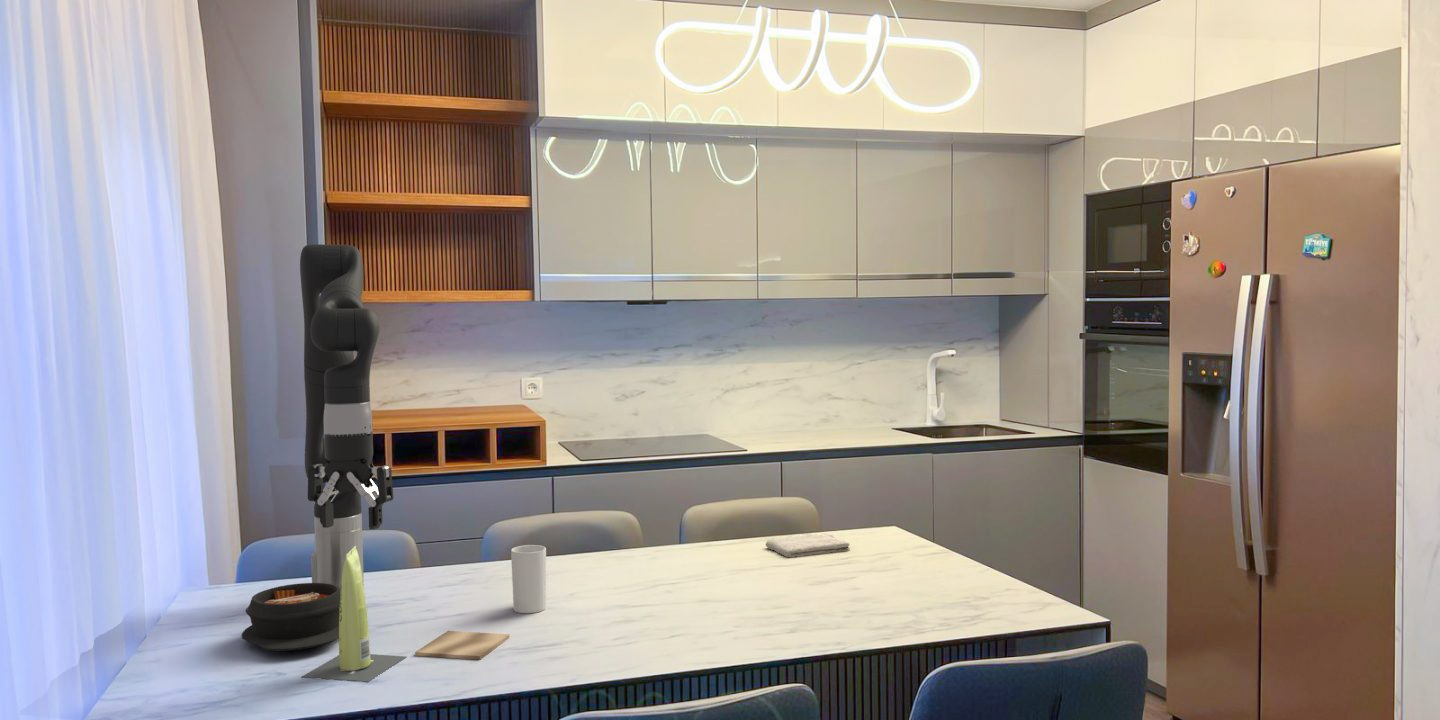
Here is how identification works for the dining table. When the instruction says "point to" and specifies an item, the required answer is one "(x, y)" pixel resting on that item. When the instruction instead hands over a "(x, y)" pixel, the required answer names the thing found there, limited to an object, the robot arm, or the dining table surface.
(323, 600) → the casserole
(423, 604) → the dining table surface
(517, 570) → the mug
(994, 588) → the dining table surface
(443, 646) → the cork pad
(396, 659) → the label
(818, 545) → the washcloth
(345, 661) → the tube
